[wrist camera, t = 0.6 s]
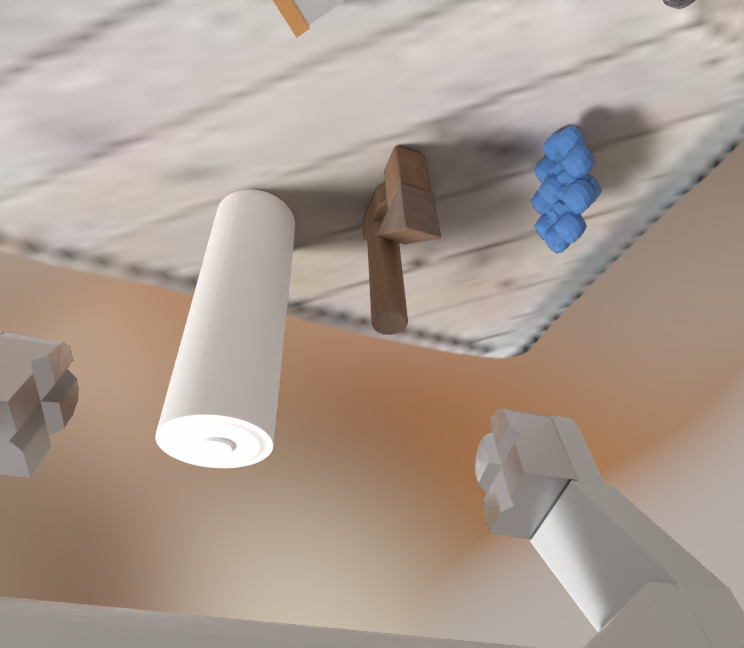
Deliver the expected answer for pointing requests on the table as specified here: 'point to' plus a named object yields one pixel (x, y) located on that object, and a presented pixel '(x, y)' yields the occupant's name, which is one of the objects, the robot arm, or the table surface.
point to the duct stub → (678, 3)
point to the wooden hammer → (397, 234)
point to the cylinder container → (233, 338)
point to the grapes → (564, 188)
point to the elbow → (304, 12)
